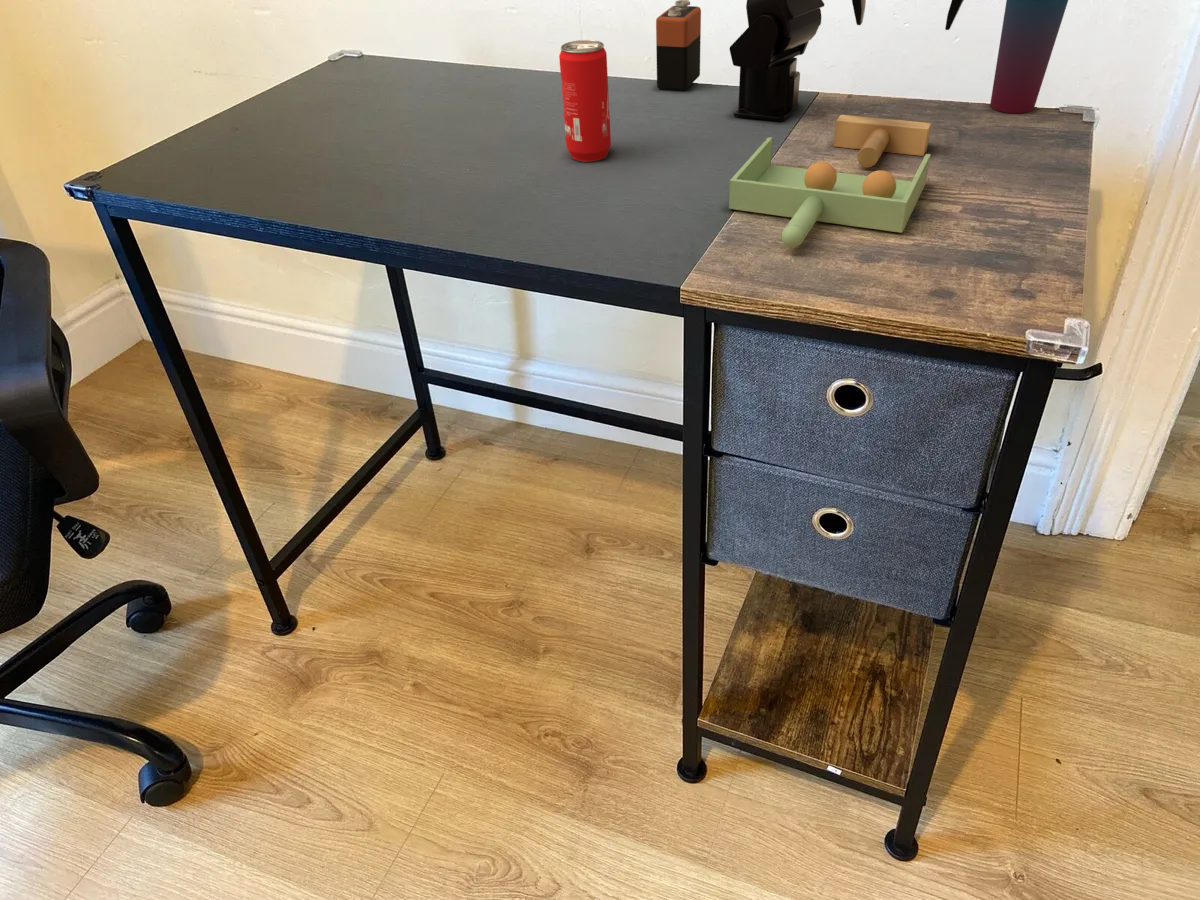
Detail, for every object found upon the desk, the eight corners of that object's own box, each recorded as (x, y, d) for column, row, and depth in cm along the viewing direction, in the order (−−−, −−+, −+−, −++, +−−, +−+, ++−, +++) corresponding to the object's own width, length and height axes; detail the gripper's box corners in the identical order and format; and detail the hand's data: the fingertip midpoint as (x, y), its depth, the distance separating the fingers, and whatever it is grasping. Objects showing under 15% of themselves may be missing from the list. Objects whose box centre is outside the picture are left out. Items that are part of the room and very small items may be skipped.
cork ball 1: (809, 179, 92) (799, 198, 90) (810, 153, 89) (800, 172, 88) (840, 183, 90) (830, 203, 89) (841, 157, 88) (831, 176, 86)
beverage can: (568, 147, 105) (560, 40, 97) (611, 145, 104) (606, 38, 97) (565, 164, 101) (556, 53, 93) (610, 162, 100) (605, 51, 93)
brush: (839, 137, 102) (819, 165, 96) (842, 111, 100) (822, 138, 94) (928, 146, 99) (913, 176, 93) (933, 119, 97) (918, 148, 91)
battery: (700, 76, 123) (702, -2, 117) (686, 91, 119) (686, 11, 112) (671, 75, 125) (671, -3, 119) (655, 89, 120) (654, 10, 114)
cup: (1046, 116, 104) (1083, -25, 94) (986, 115, 105) (1016, -24, 96) (1036, 97, 109) (1071, -38, 100) (978, 97, 110) (1007, -37, 101)
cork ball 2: (868, 180, 89) (857, 206, 88) (868, 160, 86) (857, 187, 85) (900, 187, 88) (889, 213, 87) (901, 166, 85) (890, 194, 84)
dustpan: (766, 165, 97) (768, 136, 95) (925, 184, 91) (930, 154, 89) (700, 244, 83) (701, 212, 81) (882, 273, 77) (888, 239, 75)
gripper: (810, -137, 82) (796, 41, 92) (1025, -140, 75) (985, 53, 85) (839, -151, 90) (823, 15, 99) (1037, -155, 83) (999, 24, 92)
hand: (902, 26), depth 94 cm, fingers open, 9 cm apart
